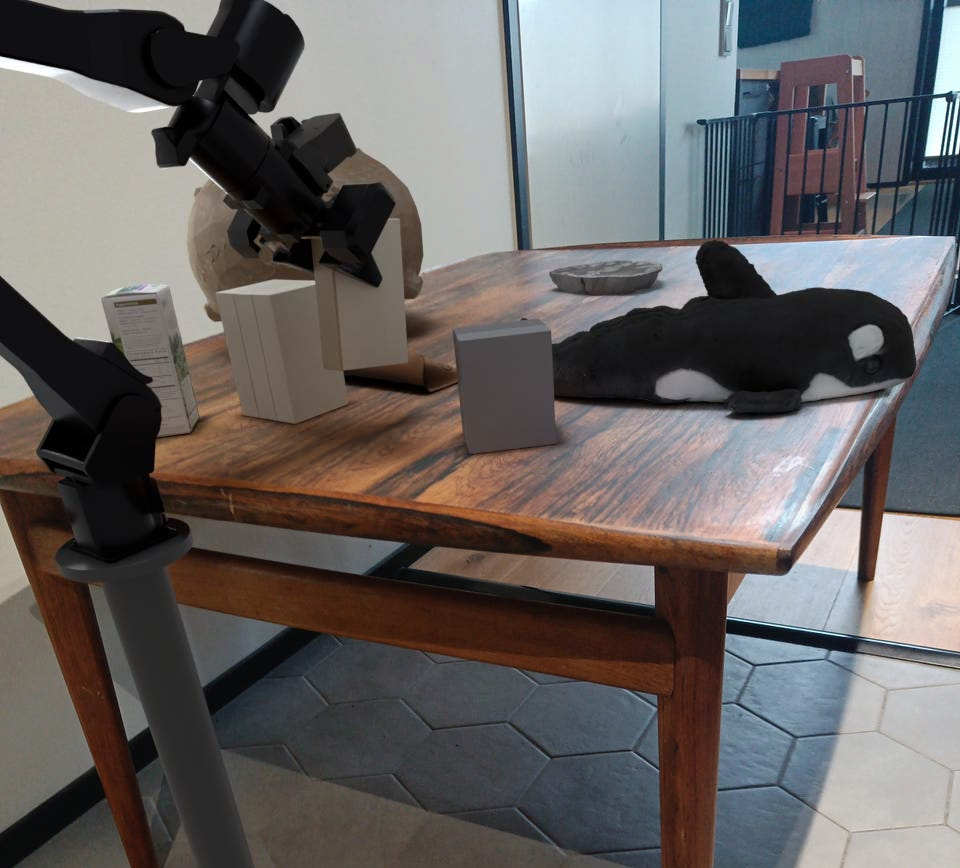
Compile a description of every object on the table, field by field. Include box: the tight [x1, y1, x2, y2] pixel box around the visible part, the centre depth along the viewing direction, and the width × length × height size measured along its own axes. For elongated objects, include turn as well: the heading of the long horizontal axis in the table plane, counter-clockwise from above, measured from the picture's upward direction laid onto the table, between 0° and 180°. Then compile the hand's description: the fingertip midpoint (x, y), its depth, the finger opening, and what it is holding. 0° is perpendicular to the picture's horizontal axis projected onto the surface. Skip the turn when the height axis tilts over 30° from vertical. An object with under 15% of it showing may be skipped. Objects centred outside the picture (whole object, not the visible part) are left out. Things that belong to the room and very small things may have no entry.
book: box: [311, 219, 408, 371], centre depth 84 cm, size 8×3×13 cm, turn 132°
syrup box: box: [100, 283, 201, 438], centre depth 93 cm, size 6×6×14 cm
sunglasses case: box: [343, 347, 458, 393], centre depth 106 cm, size 18×7×7 cm, turn 51°
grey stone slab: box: [548, 260, 664, 296], centre depth 151 cm, size 20×17×3 cm
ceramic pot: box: [185, 147, 424, 323], centre depth 129 cm, size 33×34×25 cm
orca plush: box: [519, 239, 917, 414], centre depth 90 cm, size 21×41×14 cm, turn 61°
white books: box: [216, 280, 349, 425], centre depth 96 cm, size 8×9×13 cm
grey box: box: [452, 318, 557, 455], centre depth 80 cm, size 8×6×10 cm
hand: (368, 282), depth 84 cm, fingers closed on book, 3 cm apart
